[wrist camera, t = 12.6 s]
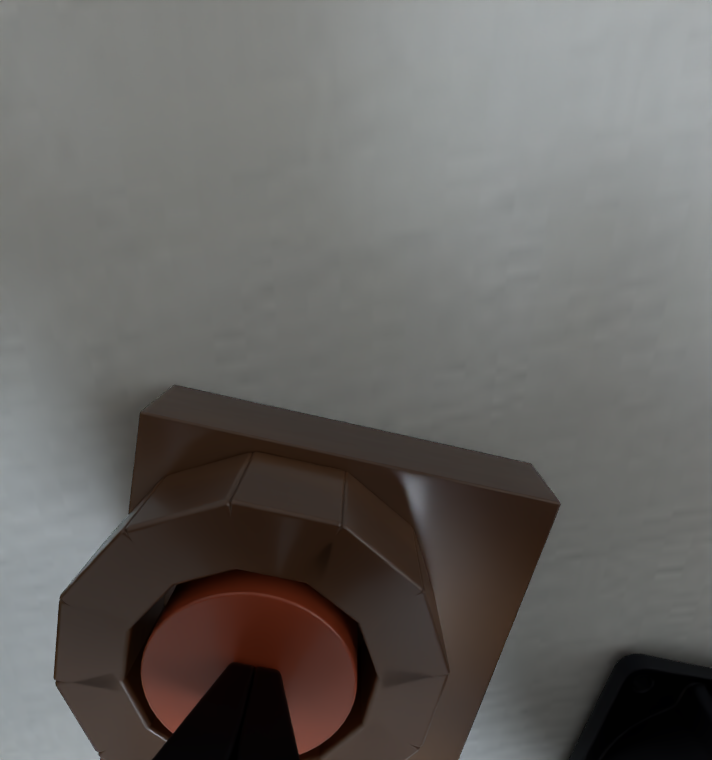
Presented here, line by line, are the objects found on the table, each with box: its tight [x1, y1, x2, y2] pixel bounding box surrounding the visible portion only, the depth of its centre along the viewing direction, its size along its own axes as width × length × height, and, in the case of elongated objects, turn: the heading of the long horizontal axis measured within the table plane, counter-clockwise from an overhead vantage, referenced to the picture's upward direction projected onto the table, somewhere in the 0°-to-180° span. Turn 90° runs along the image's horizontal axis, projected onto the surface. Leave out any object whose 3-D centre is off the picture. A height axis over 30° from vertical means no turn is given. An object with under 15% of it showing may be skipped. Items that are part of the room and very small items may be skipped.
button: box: [141, 569, 358, 755], centre depth 9 cm, size 4×4×2 cm
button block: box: [54, 385, 561, 760], centre depth 10 cm, size 11×8×4 cm
